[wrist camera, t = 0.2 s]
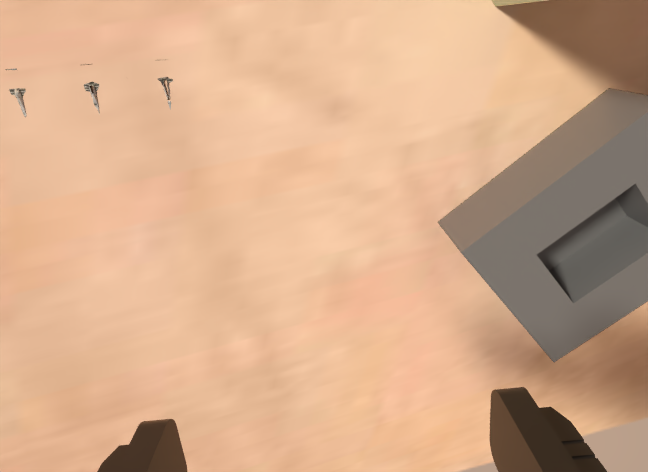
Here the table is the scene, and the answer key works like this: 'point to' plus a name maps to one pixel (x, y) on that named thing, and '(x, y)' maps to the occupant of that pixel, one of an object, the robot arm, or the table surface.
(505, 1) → the peg
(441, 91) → the table surface
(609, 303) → the gray block with hole
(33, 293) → the table surface
